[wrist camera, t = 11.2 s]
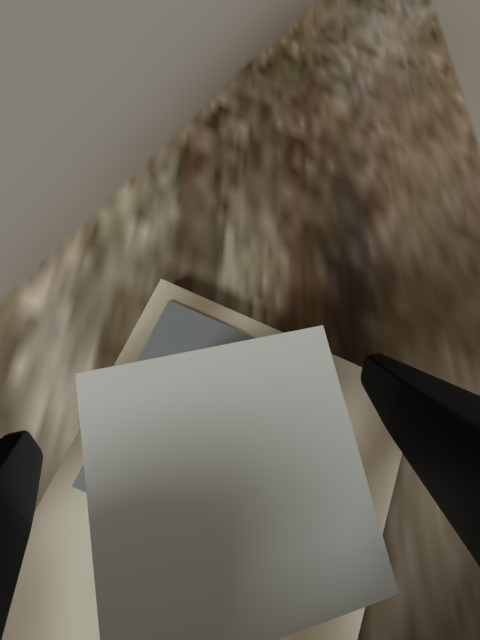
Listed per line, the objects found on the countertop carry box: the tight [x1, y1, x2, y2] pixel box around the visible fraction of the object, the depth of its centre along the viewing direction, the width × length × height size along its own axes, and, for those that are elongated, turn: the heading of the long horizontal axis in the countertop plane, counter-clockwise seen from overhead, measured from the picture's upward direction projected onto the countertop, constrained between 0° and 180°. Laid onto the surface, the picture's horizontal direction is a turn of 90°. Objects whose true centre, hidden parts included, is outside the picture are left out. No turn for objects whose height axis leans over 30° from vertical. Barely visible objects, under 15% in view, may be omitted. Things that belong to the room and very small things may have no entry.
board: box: [2, 279, 402, 640], centre depth 15 cm, size 16×18×2 cm
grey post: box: [75, 325, 399, 640], centre depth 10 cm, size 5×5×10 cm
